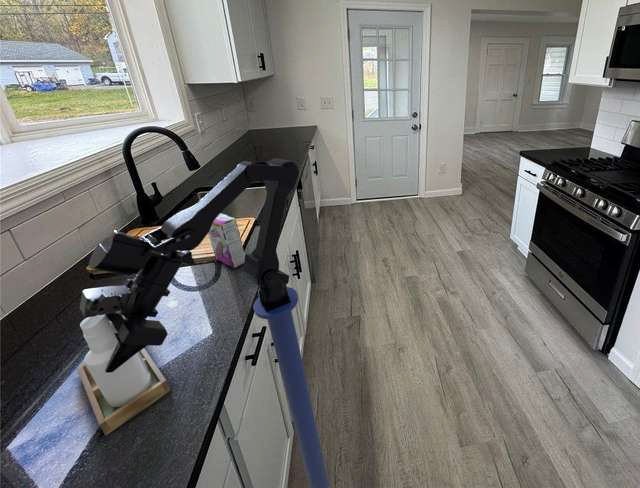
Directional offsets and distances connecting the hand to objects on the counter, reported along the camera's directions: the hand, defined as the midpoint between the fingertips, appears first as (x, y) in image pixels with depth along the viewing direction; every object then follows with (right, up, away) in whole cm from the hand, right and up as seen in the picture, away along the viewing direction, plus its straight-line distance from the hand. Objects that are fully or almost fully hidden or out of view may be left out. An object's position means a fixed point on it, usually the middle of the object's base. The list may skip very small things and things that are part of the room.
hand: (103, 361), depth 57 cm
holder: (-3, -9, +7) cm, 12 cm away
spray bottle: (+1, -8, +4) cm, 9 cm away
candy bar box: (-3, +7, +48) cm, 49 cm away
